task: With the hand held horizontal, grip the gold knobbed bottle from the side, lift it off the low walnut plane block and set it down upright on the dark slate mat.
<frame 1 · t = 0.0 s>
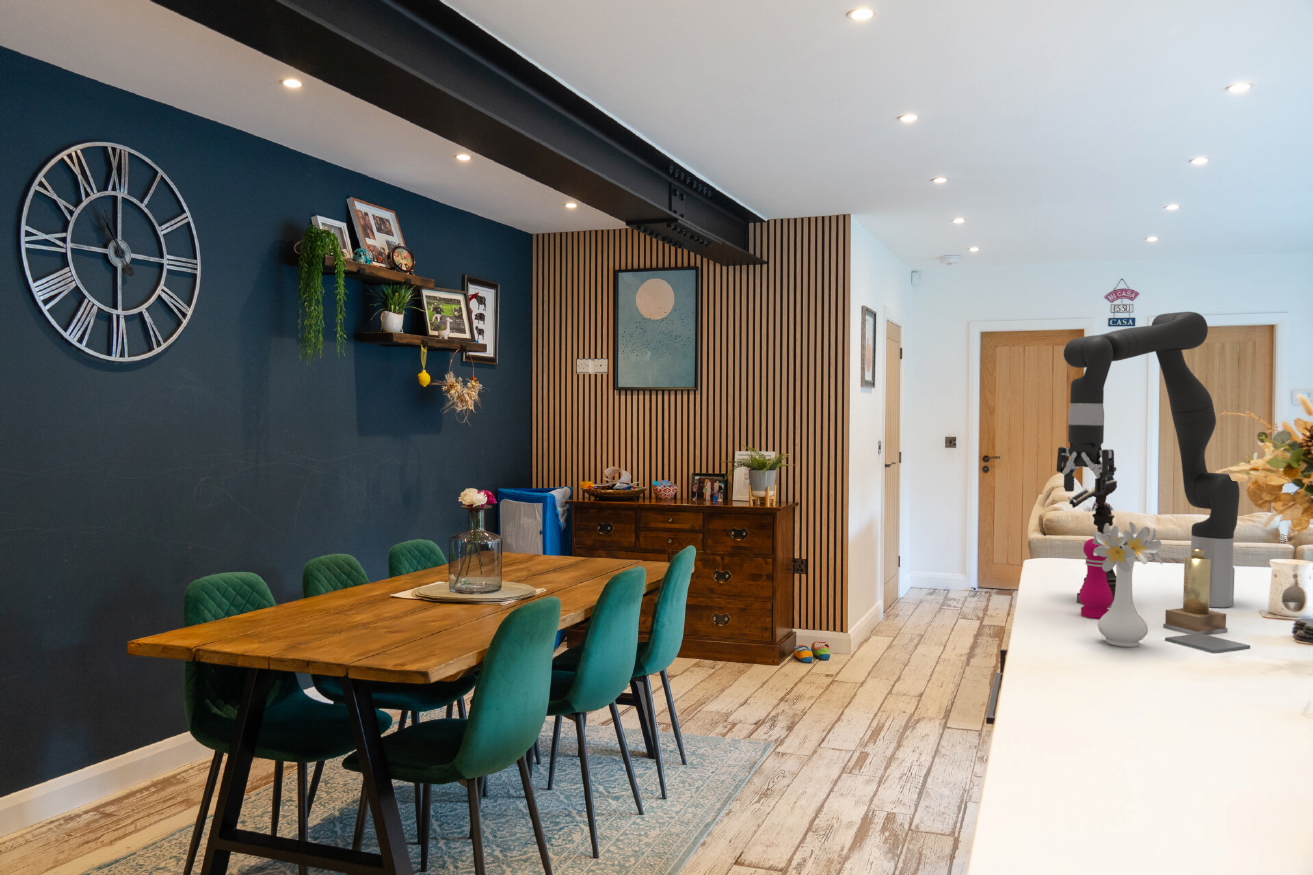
hand: (1084, 492, 218), 29 cm above the kitchen island, tool pointing down, fingers open, 8 cm apart
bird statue: (1090, 603, 237), on the kitchen island
slate mat: (1206, 644, 196), on the kitchen island
flower vase: (1124, 645, 194), on the kitchen island
gold knobbed bottle: (1195, 611, 209), point 4 cm above the kitchen island, touching plane block
pepper mill: (1095, 617, 221), on the kitchen island
plane block: (1195, 629, 209), on the kitchen island
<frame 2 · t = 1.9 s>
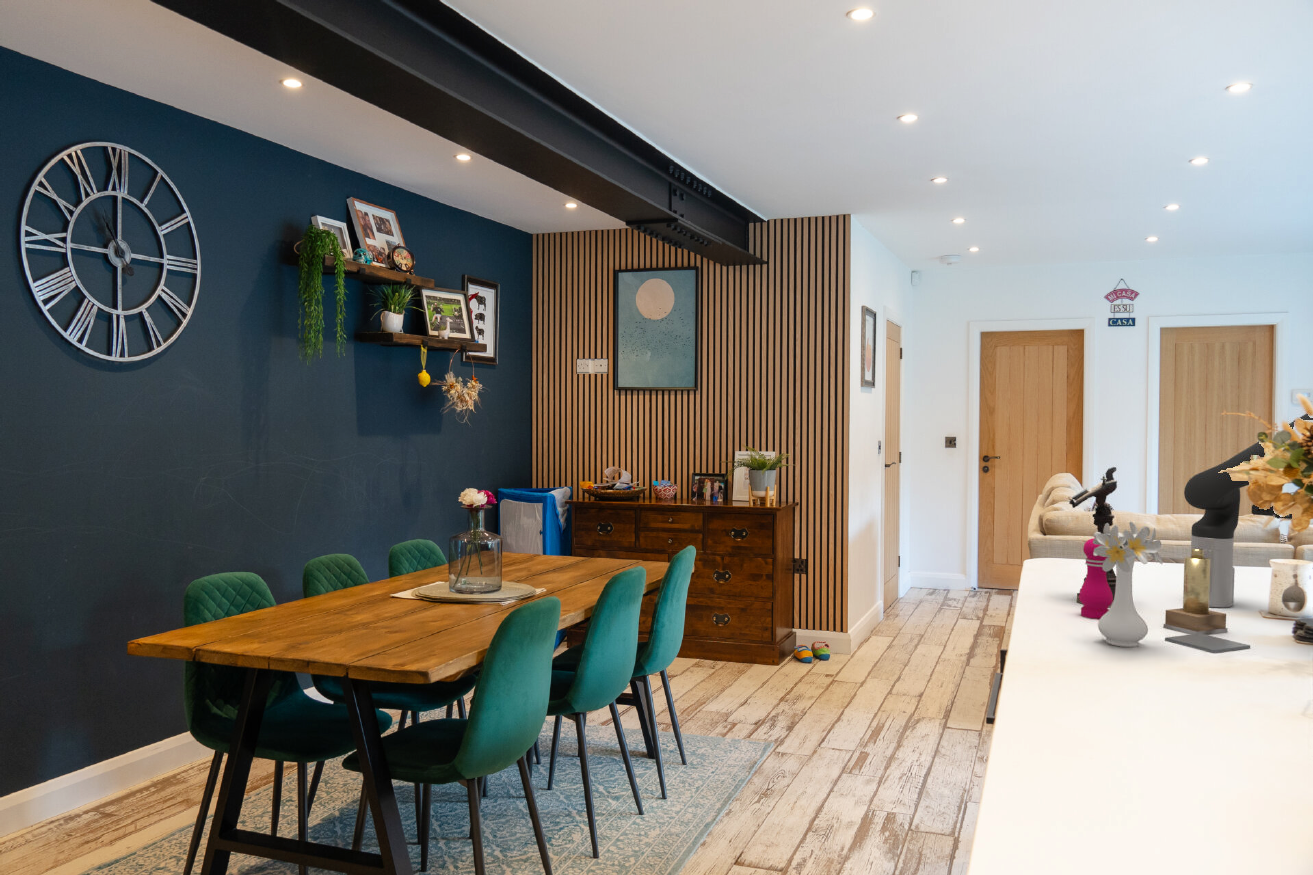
hand: (1255, 507, 201), 28 cm above the kitchen island, tool horizontal, fingers open, 8 cm apart
nothing on the kitchen island moved.
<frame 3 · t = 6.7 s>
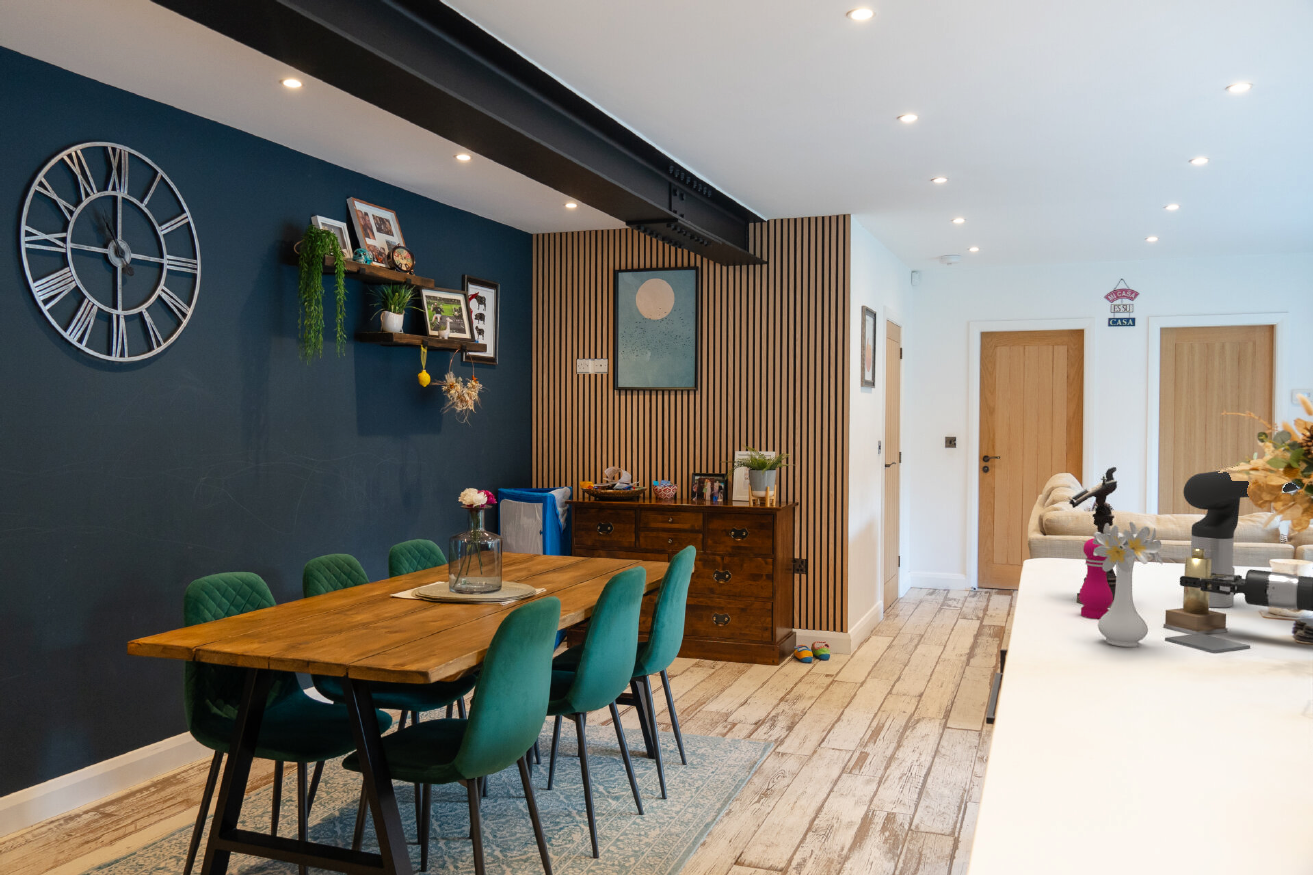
hand: (1183, 579, 210), 11 cm above the kitchen island, tool horizontal, fingers closed on gold knobbed bottle, 5 cm apart
gold knobbed bottle: (1195, 611, 209), point 4 cm above the kitchen island, touching gripper, plane block
everything else where it was.
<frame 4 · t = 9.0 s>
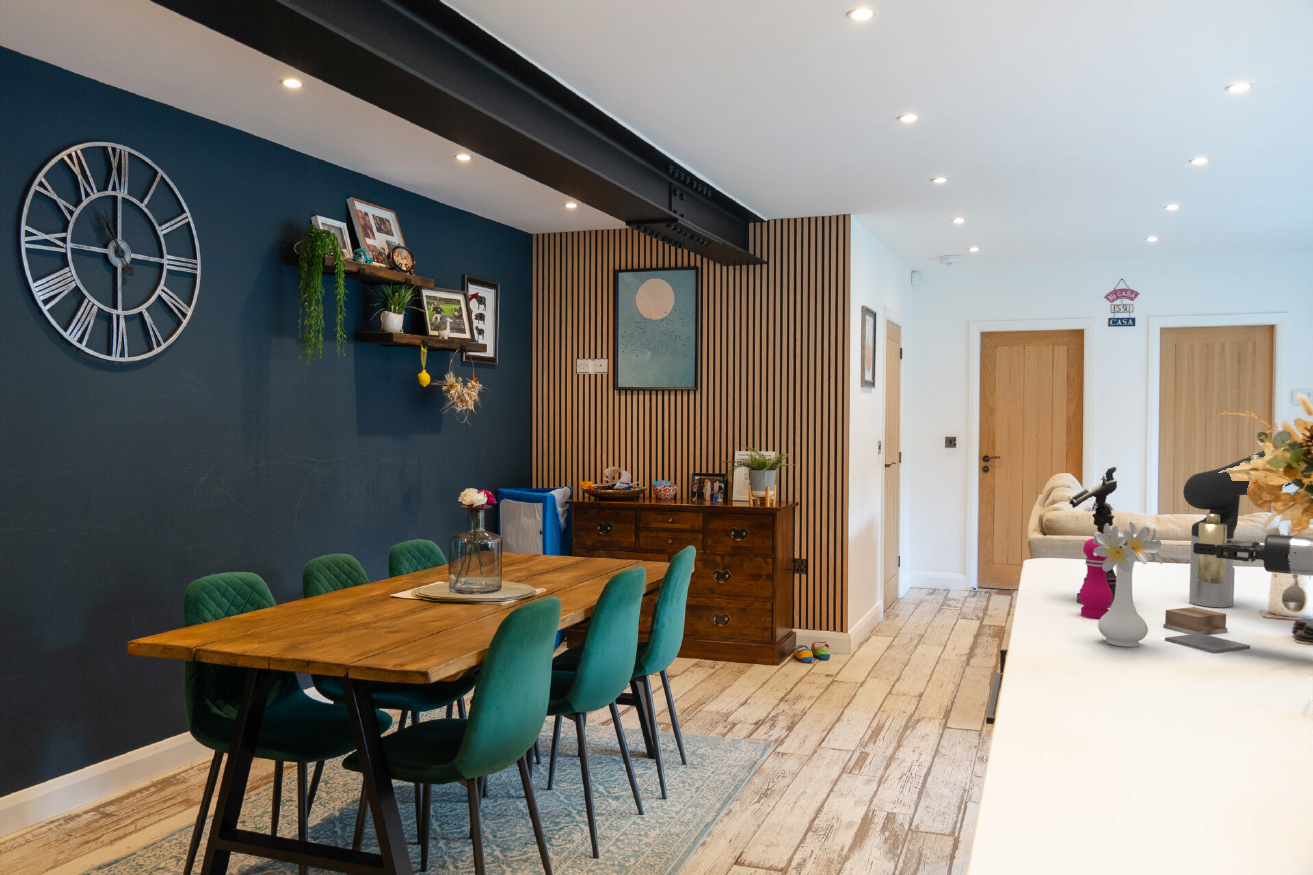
hand: (1197, 546, 197), 20 cm above the kitchen island, tool horizontal, fingers closed on gold knobbed bottle, 5 cm apart
gold knobbed bottle: (1210, 581, 195), point 13 cm above the kitchen island, touching gripper
everything else where it was.
when the fingers open (9 cm above the kitchen island, at t = 11.6 s): gold knobbed bottle stays where it is, resting on slate mat.
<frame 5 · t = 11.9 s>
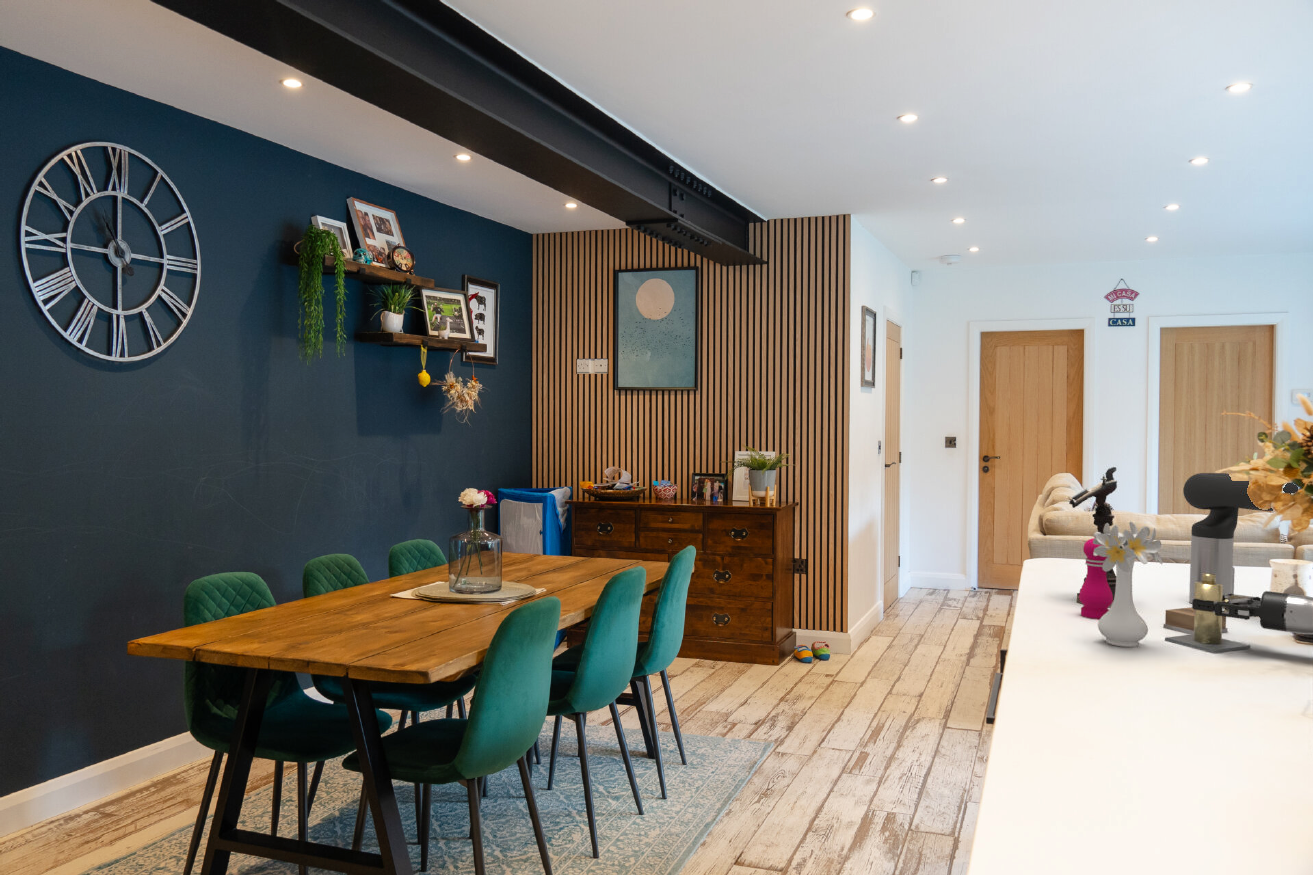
hand: (1197, 600, 197), 9 cm above the kitchen island, tool horizontal, fingers open, 7 cm apart
gold knobbed bottle: (1207, 641, 196), point 1 cm above the kitchen island, touching slate mat
everything else where it was.
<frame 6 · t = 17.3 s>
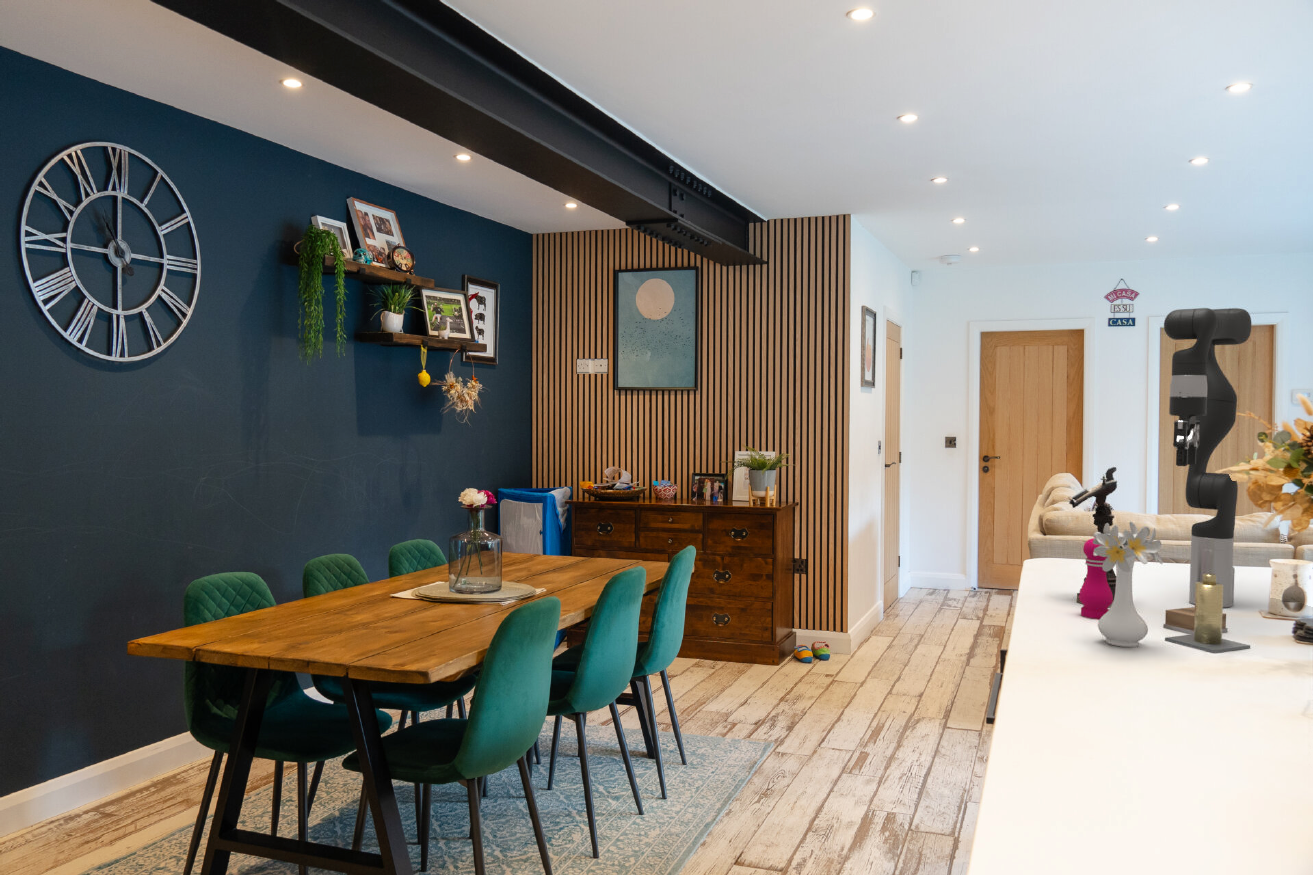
hand: (1185, 465, 218), 36 cm above the kitchen island, tool pointing down, fingers open, 8 cm apart
nothing on the kitchen island moved.
at the end: gold knobbed bottle inside the target area on the slate mat (0.1 cm from its centre), point 0.7 cm above the slate mat's base; gold knobbed bottle tilted 2°; the gripper is holding nothing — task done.
